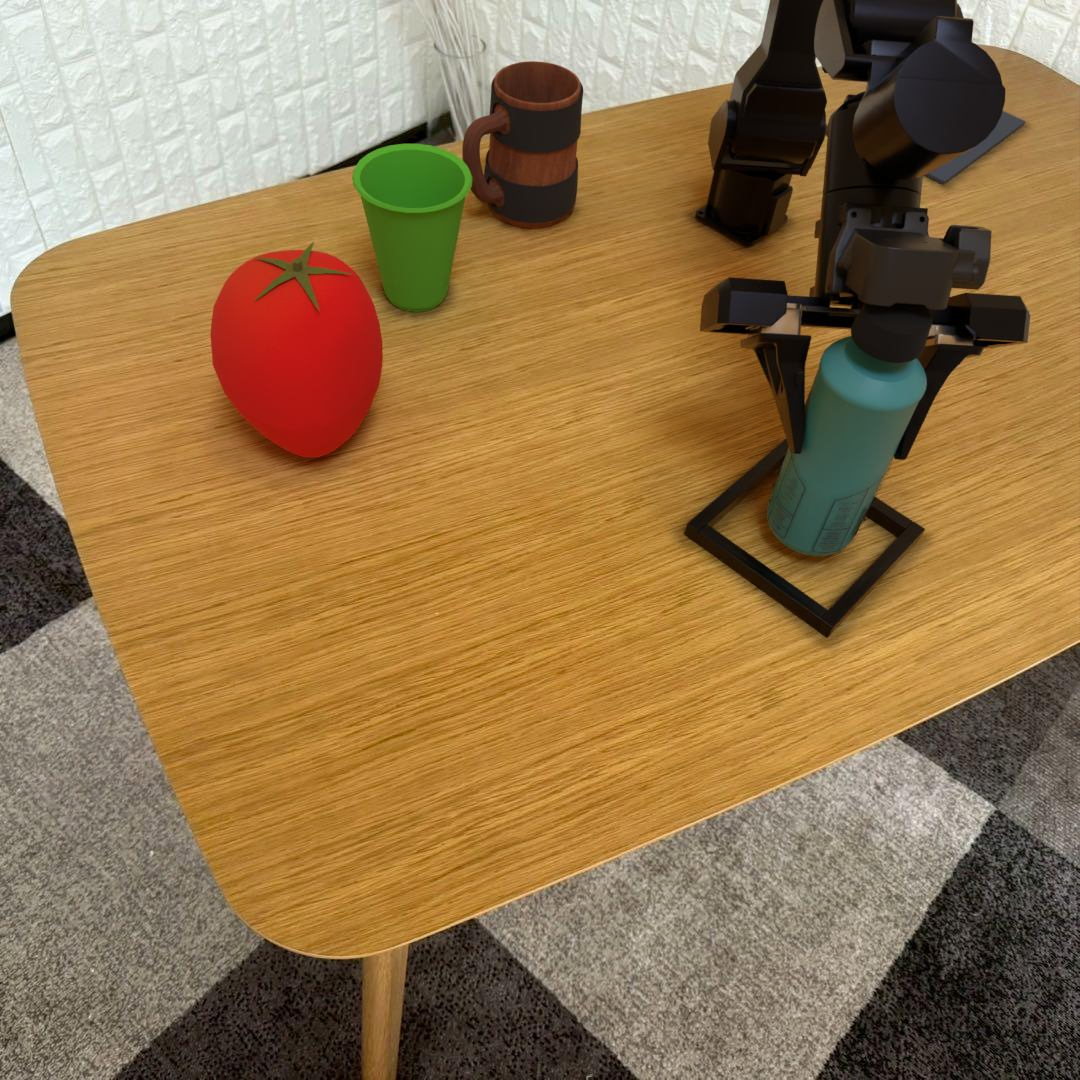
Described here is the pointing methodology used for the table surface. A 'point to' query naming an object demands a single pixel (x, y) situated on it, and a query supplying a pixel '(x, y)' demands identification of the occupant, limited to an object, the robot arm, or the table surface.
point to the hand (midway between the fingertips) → (847, 456)
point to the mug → (528, 144)
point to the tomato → (298, 348)
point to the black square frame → (775, 584)
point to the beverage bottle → (851, 429)
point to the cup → (413, 218)
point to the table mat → (977, 149)
